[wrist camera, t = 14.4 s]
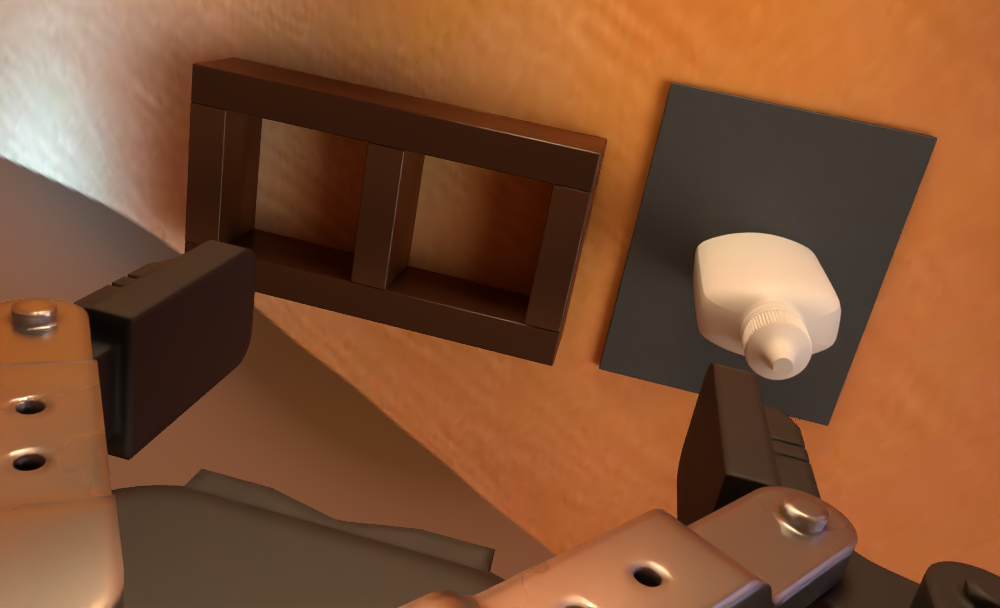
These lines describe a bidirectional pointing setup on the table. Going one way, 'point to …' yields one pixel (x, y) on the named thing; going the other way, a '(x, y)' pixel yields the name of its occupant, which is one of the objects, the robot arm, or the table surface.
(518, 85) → the table surface
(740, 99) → the mat
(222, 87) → the rack
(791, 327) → the eye dropper bottle
